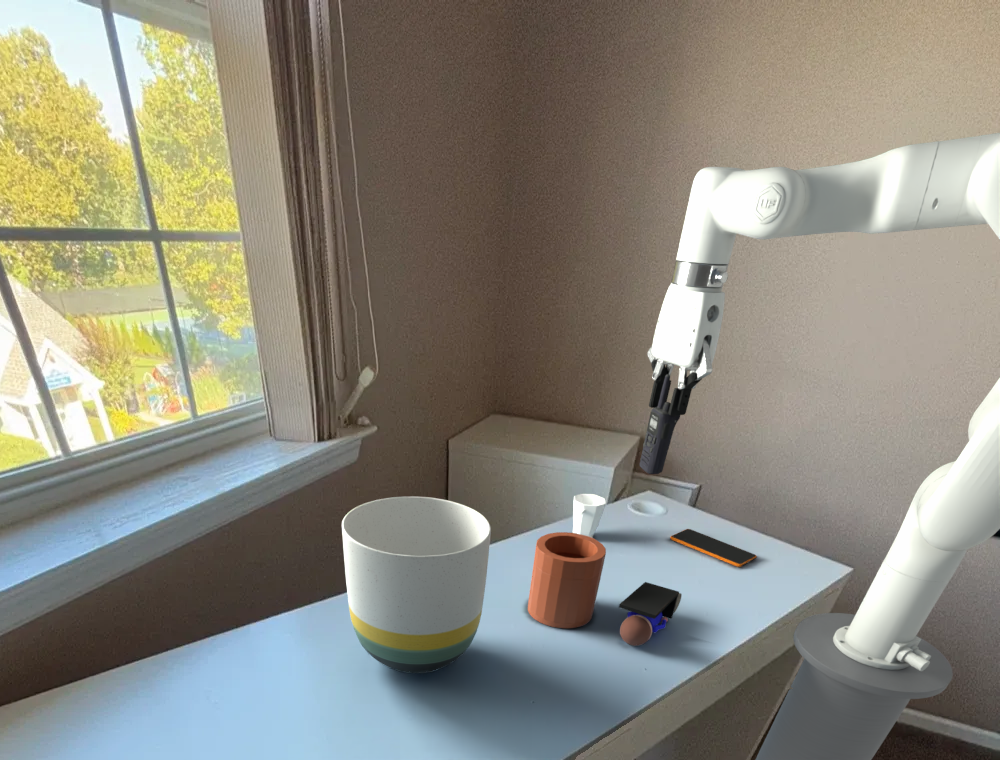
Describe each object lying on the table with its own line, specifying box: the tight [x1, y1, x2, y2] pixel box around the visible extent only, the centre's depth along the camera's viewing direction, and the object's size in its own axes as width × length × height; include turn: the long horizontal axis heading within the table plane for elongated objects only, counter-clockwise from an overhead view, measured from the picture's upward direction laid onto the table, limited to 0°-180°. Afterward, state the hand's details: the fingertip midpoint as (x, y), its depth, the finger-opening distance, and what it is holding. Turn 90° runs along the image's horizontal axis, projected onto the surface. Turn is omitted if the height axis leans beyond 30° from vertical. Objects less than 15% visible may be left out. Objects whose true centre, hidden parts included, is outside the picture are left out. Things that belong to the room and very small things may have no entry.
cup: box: [571, 493, 607, 539], centre depth 132 cm, size 7×10×8 cm
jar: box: [527, 531, 607, 629], centre depth 106 cm, size 11×11×12 cm
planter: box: [341, 496, 492, 674], centre depth 90 cm, size 20×20×21 cm
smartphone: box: [669, 528, 758, 568], centre depth 133 cm, size 8×17×1 cm, turn 43°
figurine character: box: [618, 581, 682, 647], centre depth 105 cm, size 7×8×15 cm
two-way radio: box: [639, 374, 681, 475], centre depth 107 cm, size 6×4×15 cm
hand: (666, 409), depth 105 cm, fingers closed on two-way radio, 4 cm apart
